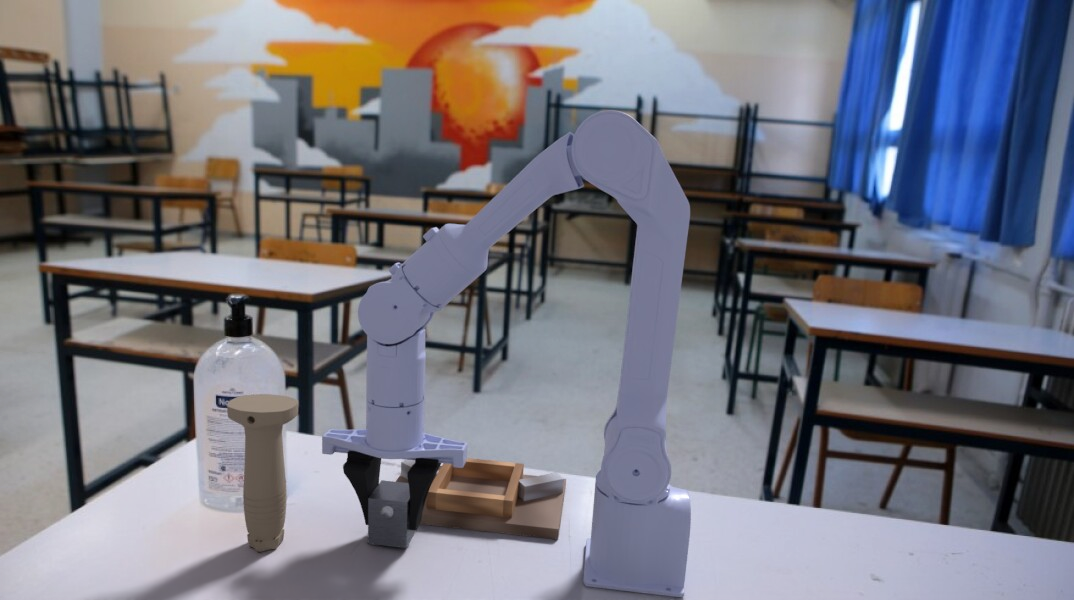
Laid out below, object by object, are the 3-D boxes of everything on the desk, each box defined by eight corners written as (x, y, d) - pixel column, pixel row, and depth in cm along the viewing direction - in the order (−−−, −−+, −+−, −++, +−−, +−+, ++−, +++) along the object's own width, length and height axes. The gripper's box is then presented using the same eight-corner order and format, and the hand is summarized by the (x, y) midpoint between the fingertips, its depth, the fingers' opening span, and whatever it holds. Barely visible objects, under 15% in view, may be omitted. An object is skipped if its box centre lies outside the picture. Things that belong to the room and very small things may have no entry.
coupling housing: (565, 487, 84) (567, 463, 83) (558, 539, 72) (560, 511, 72) (408, 471, 86) (409, 447, 85) (376, 518, 74) (376, 492, 73)
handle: (286, 561, 65) (284, 414, 63) (222, 554, 66) (217, 408, 63) (307, 534, 70) (306, 397, 67) (247, 528, 71) (243, 392, 68)
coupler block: (418, 525, 72) (419, 482, 71) (405, 550, 68) (406, 504, 67) (382, 521, 73) (382, 478, 72) (366, 545, 68) (367, 500, 67)
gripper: (475, 391, 71) (470, 511, 73) (341, 379, 72) (341, 497, 75) (460, 415, 64) (455, 546, 66) (312, 401, 65) (313, 530, 68)
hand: (393, 522), depth 70 cm, fingers closed on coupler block, 4 cm apart
